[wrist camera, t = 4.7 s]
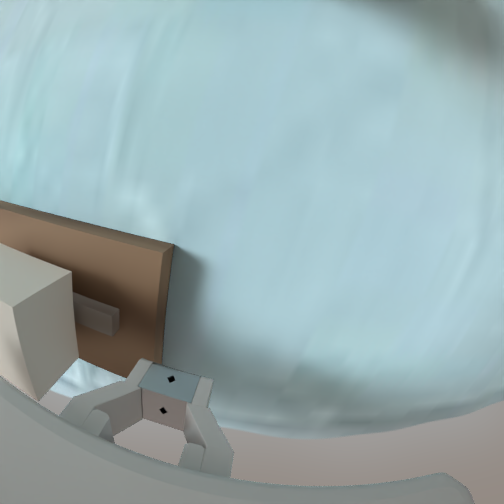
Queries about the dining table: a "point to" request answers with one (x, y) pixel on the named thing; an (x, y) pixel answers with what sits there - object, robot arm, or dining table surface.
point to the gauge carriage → (35, 322)
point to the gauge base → (101, 283)
